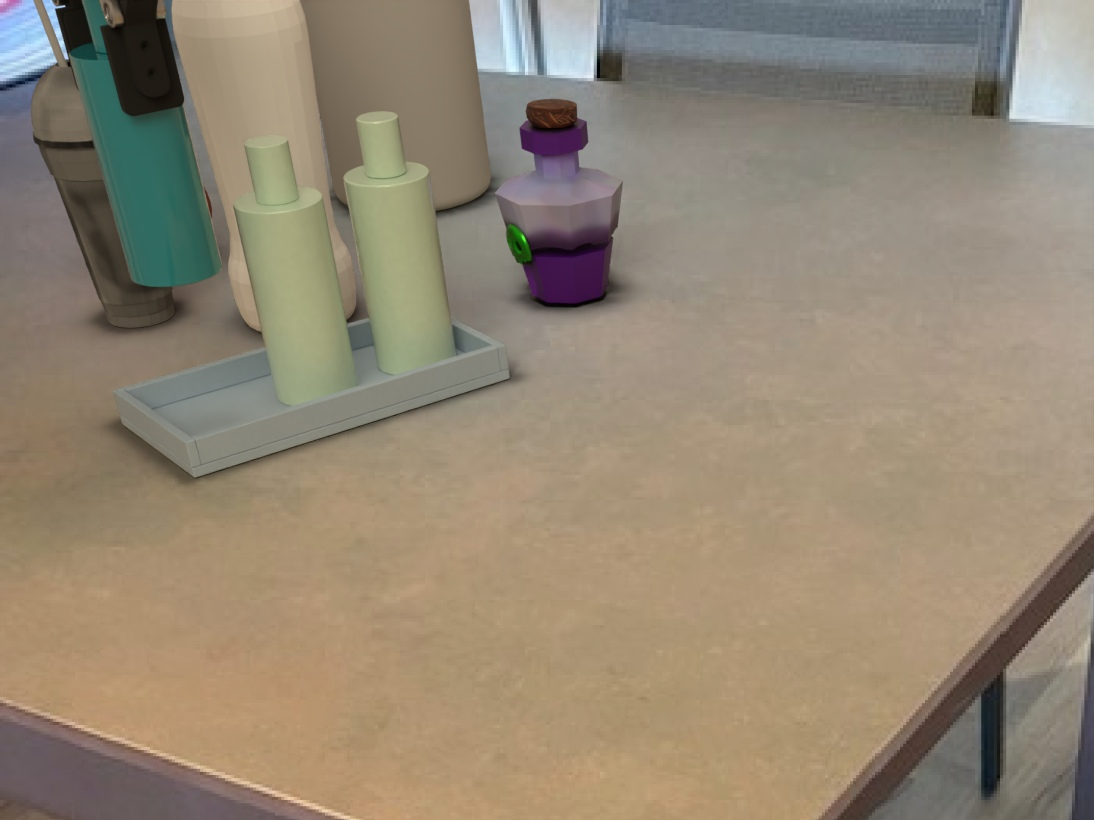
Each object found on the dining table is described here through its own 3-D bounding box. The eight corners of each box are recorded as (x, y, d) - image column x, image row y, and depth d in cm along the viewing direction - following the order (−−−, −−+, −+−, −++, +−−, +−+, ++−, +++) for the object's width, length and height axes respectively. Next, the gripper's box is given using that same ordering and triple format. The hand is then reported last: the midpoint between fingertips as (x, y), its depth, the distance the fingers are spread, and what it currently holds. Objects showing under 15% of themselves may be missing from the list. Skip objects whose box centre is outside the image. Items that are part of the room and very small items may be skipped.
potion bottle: (482, 303, 113) (455, 109, 104) (557, 265, 118) (537, 78, 110) (583, 324, 109) (564, 125, 101) (656, 283, 114) (643, 92, 106)
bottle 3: (402, 383, 101) (359, 133, 91) (362, 360, 104) (317, 116, 94) (472, 362, 103) (437, 116, 94) (430, 340, 106) (393, 100, 97)
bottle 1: (384, 305, 113) (290, -239, 93) (310, 346, 107) (192, -222, 87) (292, 289, 116) (181, -242, 96) (215, 328, 110) (80, -225, 90)
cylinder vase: (479, 163, 137) (432, -205, 121) (504, 206, 128) (456, -185, 112) (329, 180, 135) (259, -193, 118) (343, 225, 126) (270, -172, 109)
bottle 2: (299, 414, 98) (244, 159, 88) (261, 390, 100) (204, 141, 91) (373, 392, 100) (327, 140, 90) (334, 369, 103) (285, 123, 93)
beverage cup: (195, 328, 111) (110, -16, 97) (84, 340, 109) (-19, -5, 96) (196, 292, 116) (114, -38, 102) (89, 303, 115) (-8, -29, 101)
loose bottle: (153, 294, 89) (72, -5, 79) (116, 271, 92) (34, -19, 82) (237, 271, 91) (169, -21, 82) (199, 250, 94) (128, -35, 84)
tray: (194, 478, 93) (185, 442, 91) (121, 424, 99) (111, 389, 97) (510, 378, 102) (506, 344, 101) (426, 335, 108) (421, 302, 107)
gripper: (-130, -349, 77) (2, 85, 89) (1, -341, 67) (129, 147, 79) (26, -360, 80) (133, 60, 92) (174, -354, 70) (271, 116, 82)
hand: (130, 96), depth 85 cm, fingers closed on loose bottle, 5 cm apart
